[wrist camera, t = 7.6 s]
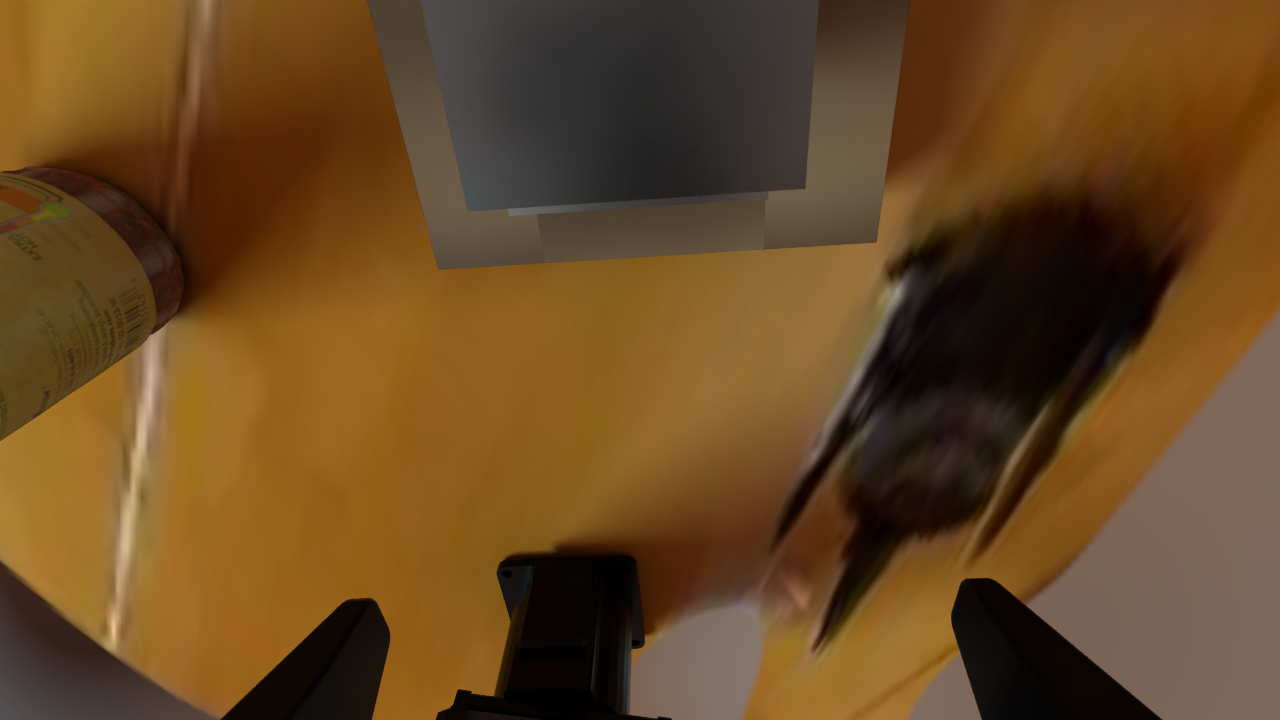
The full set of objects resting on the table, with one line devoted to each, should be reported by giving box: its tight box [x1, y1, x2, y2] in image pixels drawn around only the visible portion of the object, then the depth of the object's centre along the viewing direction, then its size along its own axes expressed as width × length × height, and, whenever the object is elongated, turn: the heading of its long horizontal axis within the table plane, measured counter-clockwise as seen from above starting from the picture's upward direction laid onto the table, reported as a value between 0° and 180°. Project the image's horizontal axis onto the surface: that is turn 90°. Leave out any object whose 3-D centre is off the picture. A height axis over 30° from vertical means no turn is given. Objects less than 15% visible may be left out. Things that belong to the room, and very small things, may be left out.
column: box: [420, 0, 819, 216], centre depth 9 cm, size 5×4×8 cm
